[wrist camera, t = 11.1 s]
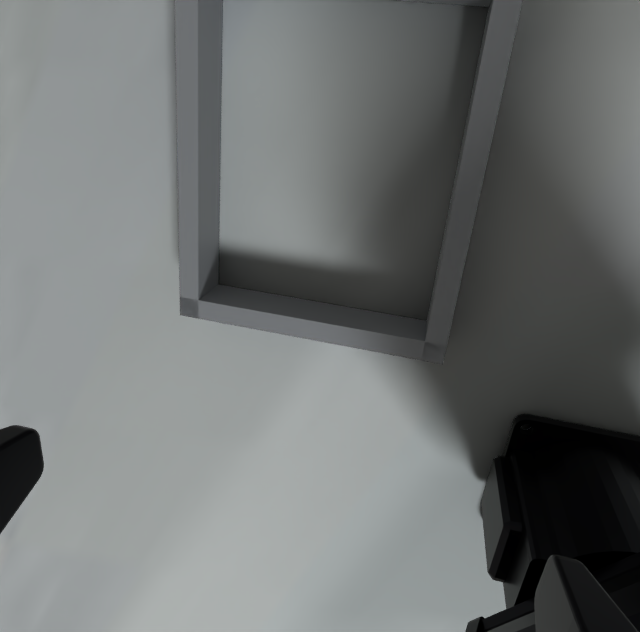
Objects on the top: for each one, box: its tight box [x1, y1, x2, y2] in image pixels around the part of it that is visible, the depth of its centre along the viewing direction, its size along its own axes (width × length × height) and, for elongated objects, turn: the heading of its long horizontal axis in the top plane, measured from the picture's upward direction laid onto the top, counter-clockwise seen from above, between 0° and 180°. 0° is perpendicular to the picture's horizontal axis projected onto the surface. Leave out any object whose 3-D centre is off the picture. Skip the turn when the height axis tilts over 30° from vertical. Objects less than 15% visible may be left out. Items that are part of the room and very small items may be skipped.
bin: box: [175, 0, 523, 364], centre depth 18 cm, size 11×13×2 cm
